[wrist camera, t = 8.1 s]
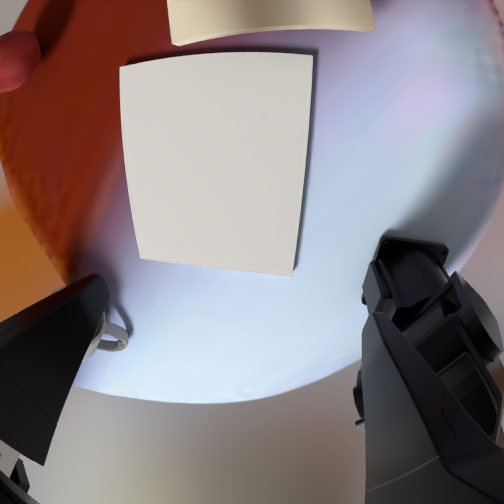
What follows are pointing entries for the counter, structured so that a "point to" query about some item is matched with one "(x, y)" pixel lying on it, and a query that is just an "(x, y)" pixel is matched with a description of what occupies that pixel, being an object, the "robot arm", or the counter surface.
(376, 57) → the counter surface
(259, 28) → the beige stepped block
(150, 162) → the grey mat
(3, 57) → the onion
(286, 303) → the counter surface
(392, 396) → the robot arm
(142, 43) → the counter surface
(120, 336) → the ceramic mug
